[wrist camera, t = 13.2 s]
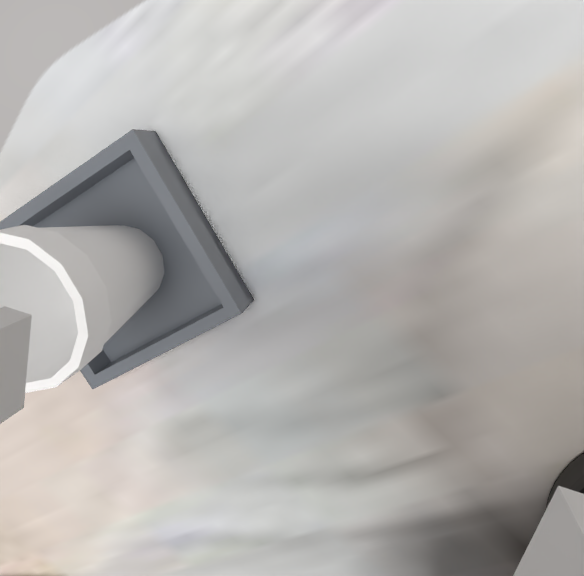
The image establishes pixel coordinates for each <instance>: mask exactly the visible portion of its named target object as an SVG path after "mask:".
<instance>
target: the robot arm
mask: <svg viewBox="0 0 584 576" xmlns="http://www.w3.org/2000/svg"><path fill="white" fill-rule="evenodd" d="M31 319H32V315H31V314H27V313H24V312H21V311H18V310H15V309H12V308H9V307H6V306H4V307H2V308H0V424H1V423H2V422H4V421H5V420H7V419H8V418H9V417H11V416H12V415H14V414H15V413H17V412H18V411H20V410H21V409H23V408H24V399H25V387H26V376H27V365H28V353H29V342H30V331H31ZM513 576H584V453H583V454H582V455H581V456H579V457H578V458H577V459H575V460H574V461H573V462H572V463H571V464H570V465H569V466H568V467H567V468H566V469H565V470H564V471H563V472H562V474H561V475H560V476H559V478H558V479H557V481H556V482H555V484H554V486H553V488H552V490H551V493H550V495H549V499H548V503H547V509H546V511H545V513H544V515H543V517H542V519H541V521H540V523H539V525H538V527H537V529H536V531H535V533H534V535H533V537H532V539H531V541H530V543H529V545H528V547H527V549H526V551H525V553H524V555H523V557H522V559H521V561H520V563H519V565H518V567H517V569H516V571H515V573H514V575H513Z"/></svg>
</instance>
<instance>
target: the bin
mask: <svg viewBox="0 0 584 576" xmlns="http://www.w3.org/2000/svg"><path fill="white" fill-rule="evenodd" d="M21 225H28V226H32V227H37V228H45V227H78V226H110V225H119V226H122V225H124V226H128V227H132V228H137V229H140V230H141V231H142V232H144V233H145V234H146V235H148V236H149V237H150V238H152V239H153V240H154V242H155V243H156V245H157V247H158V249H159V250H160V252H161V254H162V256H163V265H164V276H163V279H162V281H161V284H160V287H159V289H158V290H157V291H156V292H155V293H154V294H153V295H152V296H151V297H150V298H149V299H148V300H147V301H146V302H145V303H144V304H143V305H142V306H141V307H140V308H139V309H138V310H137V311H136V312H135V313H134V314H133V315H132V316H131V317H130V318H129V319H128V320H127V321H126V322H125V323H124V324H123V325H122V327H121V328H120V329H119V330H118V331H117V332H116V333H115V334H114V335H113V336H112V337H111V338H110V339H109V340H108V341H107V342H106V343H105V344H104V346H103V349H102V351H101V352H100V353H99V354H98V355H97V356H96V357H94V358H93V359H92V360H91V361H90V362H89V363H88V364H87V365H85V366H84V367H83V368H82V369H81V370H80V371H81V373H82V374H83V376H84V377H85V379H86V380H87V382H88V383H89V385H90V386H91V388H92V389H94V388H96V387H98V386H100V385H102V384H104V383H106V382H108V381H110V380H112V379H114V378H116V377H118V376H120V375H122V374H124V373H126V372H128V371H130V370H132V369H134V368H136V367H137V366H139V365H141V364H143V363H145V362H147V361H149V360H151V359H153V358H155V357H157V356H159V355H161V354H163V353H165V352H167V351H169V350H171V349H173V348H175V347H177V346H179V345H181V344H182V343H184V342H186V341H188V340H190V339H192V338H194V337H196V336H198V335H200V334H202V333H204V332H206V331H208V330H210V329H212V328H214V327H216V326H218V325H220V324H222V323H224V322H226V321H227V320H229V319H231V318H233V317H235V316H237V315H239V314H241V313H242V312H243V311H244V310H245V309H246V308H247V307H248V306H249V304H250V303H251V302H252V301H253V300H254V299H253V298H252V296H251V294H250V292H249V291H248V289H247V287H246V286H245V284H244V282H243V280H242V279H241V277H240V275H239V274H238V272H237V270H236V268H235V267H234V265H233V263H232V262H231V260H230V258H229V256H228V255H227V253H226V251H225V250H224V248H223V246H222V244H221V243H220V241H219V239H218V238H217V236H216V234H215V232H214V231H213V229H212V227H211V226H210V224H209V222H208V220H207V219H206V217H205V215H204V214H203V212H202V210H201V208H200V207H199V205H198V203H197V202H196V200H195V198H194V197H193V195H192V193H191V191H190V190H189V188H188V186H187V185H186V183H185V181H184V179H183V178H182V176H181V174H180V173H179V171H178V169H177V167H176V166H175V164H174V162H173V161H172V159H171V157H170V155H169V154H168V152H167V150H166V149H165V147H164V145H163V143H162V142H161V140H160V138H159V137H158V135H157V133H156V131H147V130H135V129H132V130H131V131H130V132H128V133H127V134H125V135H124V136H122V137H121V138H120V139H118V140H117V141H115V142H114V143H112V144H111V145H110V146H108V147H107V148H105V149H104V150H102V151H101V152H100V153H98V154H97V155H95V156H94V157H92V158H91V159H90V160H88V161H87V162H85V163H84V164H82V165H81V166H79V167H78V168H77V169H75V170H74V171H72V172H71V173H69V174H68V175H67V176H65V177H64V178H62V179H61V180H59V181H58V182H57V183H55V184H54V185H52V186H51V187H49V188H48V189H47V190H45V191H44V192H42V193H41V194H39V195H38V196H37V197H35V198H34V199H32V200H31V201H29V202H28V203H27V204H25V205H24V206H22V207H21V208H19V209H18V210H16V211H15V212H14V213H12V214H11V215H9V216H8V217H6V218H5V219H4V220H2V221H1V222H0V230H1V229H6V228H11V227H16V226H21Z"/></svg>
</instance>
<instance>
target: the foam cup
mask: <svg viewBox="0 0 584 576" xmlns="http://www.w3.org/2000/svg"><path fill="white" fill-rule="evenodd" d="M163 276H164V265H163V256H162V254H161V252H160V250H159V249H158V247H157V245H156V243H155V242H154V240H153V239H152V238H150V237H149V236H148V235H146V234H145V233H144V232H142V231H141V230H140V229H137V228H132V227H128V226H124V225H122V226H119V225H110V226H78V227H45V228H37V227H32V226H28V225H21V226H16V227H11V228H6V229H1V230H0V308H2V307H4V306H6V307H9V308H12V309H15V310H18V311H21V312H24V313H27V314H31V315H32V319H31V331H30V342H29V353H28V365H27V376H26V387H25V393H28V392H33V391H38V390H44V389H49V388H55V387H57V386H59V385H60V384H61V383H63V382H64V381H66V380H67V379H68V378H70V377H71V376H73V375H74V374H75V373H77V372H78V371H80V370H81V369H82V368H83V367H84V366H85V365H87V364H88V363H89V362H90V361H91V360H92V359H93V358H94V357H96V356H97V355H98V354H99V353H100V352H101V351H102V349H103V346H104V344H105V343H106V342H107V341H108V340H109V339H110V338H111V337H112V336H113V335H114V334H115V333H116V332H117V331H118V330H119V329H120V328H121V327H122V325H123V324H124V323H125V322H126V321H127V320H128V319H129V318H130V317H131V316H132V315H133V314H134V313H135V312H136V311H137V310H138V309H139V308H140V307H141V306H142V305H143V304H144V303H145V302H146V301H147V300H148V299H149V298H150V297H151V296H152V295H153V294H154V293H155V292H156V291H157V290H158V289H159V287H160V284H161V281H162V279H163Z"/></svg>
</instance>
